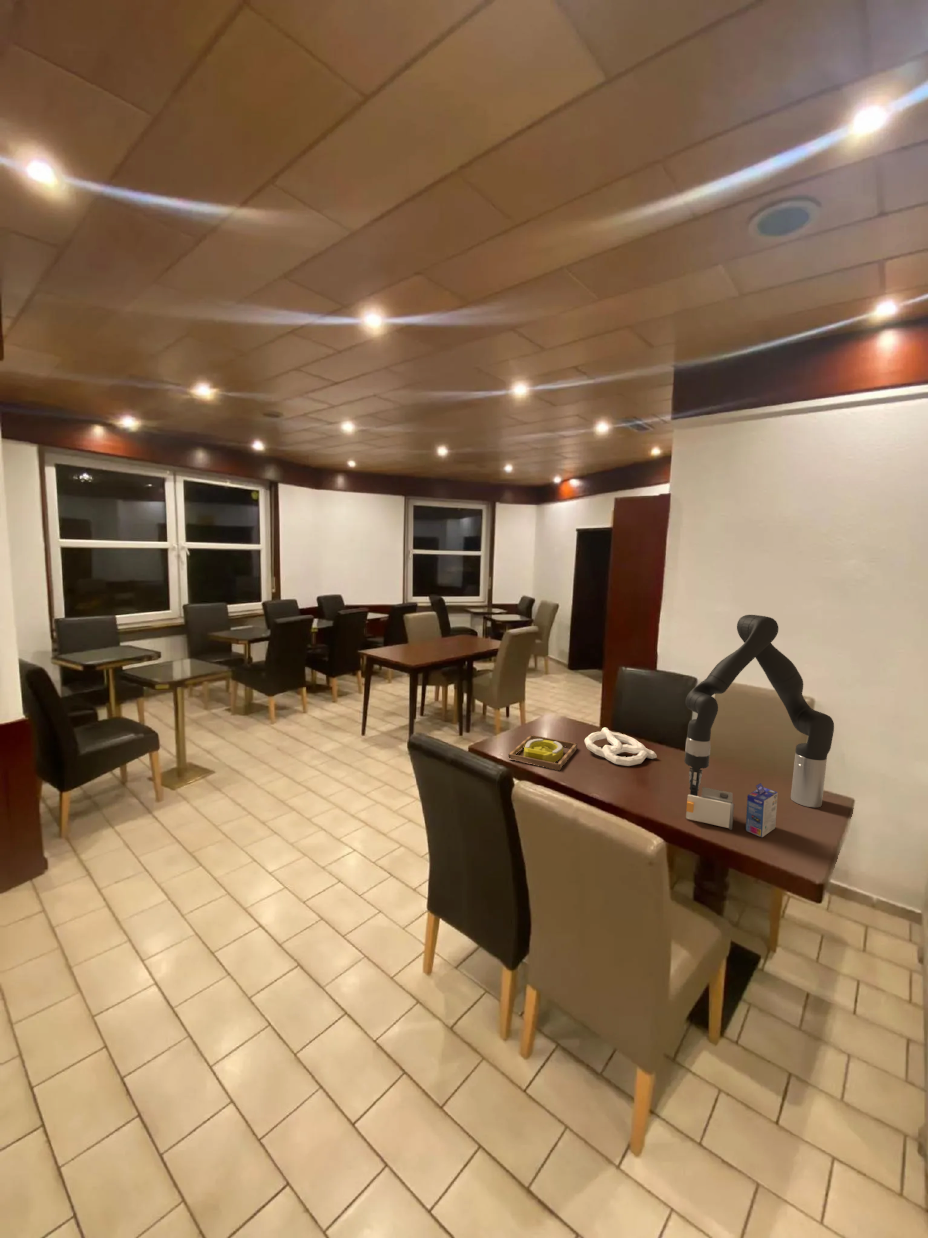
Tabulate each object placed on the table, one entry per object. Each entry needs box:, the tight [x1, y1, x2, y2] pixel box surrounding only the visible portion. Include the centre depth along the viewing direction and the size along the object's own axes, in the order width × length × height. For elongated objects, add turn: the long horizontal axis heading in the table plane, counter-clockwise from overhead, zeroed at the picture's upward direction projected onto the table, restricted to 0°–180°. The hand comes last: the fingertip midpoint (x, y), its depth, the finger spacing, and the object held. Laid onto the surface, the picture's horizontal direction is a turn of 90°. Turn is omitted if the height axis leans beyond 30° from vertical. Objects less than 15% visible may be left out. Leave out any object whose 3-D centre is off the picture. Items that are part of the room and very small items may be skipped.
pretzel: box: [584, 727, 657, 767], centre depth 222 cm, size 28×24×6 cm
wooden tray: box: [508, 734, 578, 771], centre depth 221 cm, size 27×22×2 cm
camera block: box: [700, 786, 734, 804], centre depth 167 cm, size 7×9×10 cm
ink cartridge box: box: [745, 782, 779, 838], centre depth 161 cm, size 10×6×14 cm, turn 127°
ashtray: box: [523, 739, 564, 763], centre depth 219 cm, size 16×21×5 cm
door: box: [685, 793, 735, 831], centre depth 163 cm, size 2×14×8 cm, turn 63°
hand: (693, 800), depth 173 cm, fingers closed
